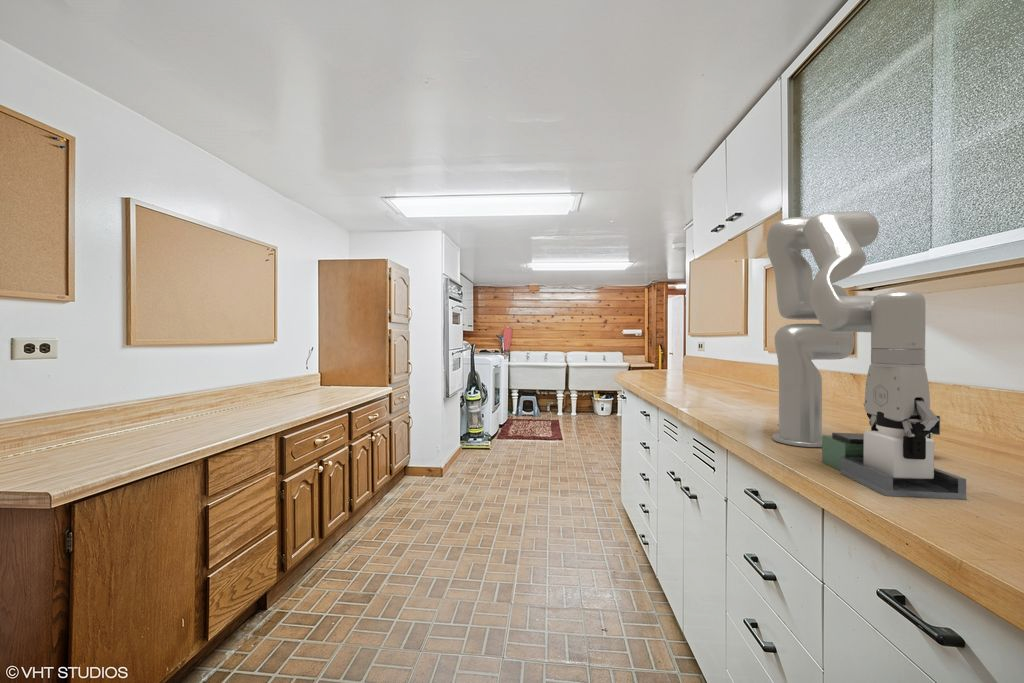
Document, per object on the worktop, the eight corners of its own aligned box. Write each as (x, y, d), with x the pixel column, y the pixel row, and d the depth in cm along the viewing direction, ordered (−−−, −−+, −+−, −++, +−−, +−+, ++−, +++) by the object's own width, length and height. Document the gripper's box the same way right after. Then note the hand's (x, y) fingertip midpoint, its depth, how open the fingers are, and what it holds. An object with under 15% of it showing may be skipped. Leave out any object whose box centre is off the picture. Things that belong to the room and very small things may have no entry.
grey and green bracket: (816, 461, 94) (816, 431, 94) (877, 464, 92) (877, 433, 92) (885, 495, 73) (885, 456, 73) (966, 499, 72) (966, 459, 72)
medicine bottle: (935, 479, 75) (935, 412, 75) (892, 478, 76) (893, 412, 75) (900, 467, 82) (901, 406, 82) (862, 466, 83) (862, 405, 83)
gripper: (845, 356, 88) (844, 440, 88) (912, 360, 71) (911, 465, 71) (885, 356, 87) (884, 442, 87) (962, 361, 70) (962, 467, 70)
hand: (896, 452), depth 79 cm, fingers closed on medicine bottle, 7 cm apart
